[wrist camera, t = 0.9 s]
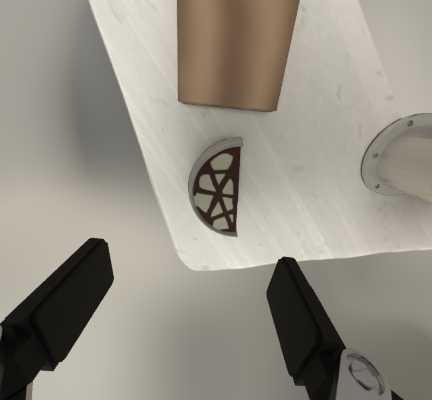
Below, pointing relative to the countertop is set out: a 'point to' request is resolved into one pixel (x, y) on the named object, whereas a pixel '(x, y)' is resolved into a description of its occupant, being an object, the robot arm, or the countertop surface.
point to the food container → (217, 186)
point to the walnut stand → (233, 52)
